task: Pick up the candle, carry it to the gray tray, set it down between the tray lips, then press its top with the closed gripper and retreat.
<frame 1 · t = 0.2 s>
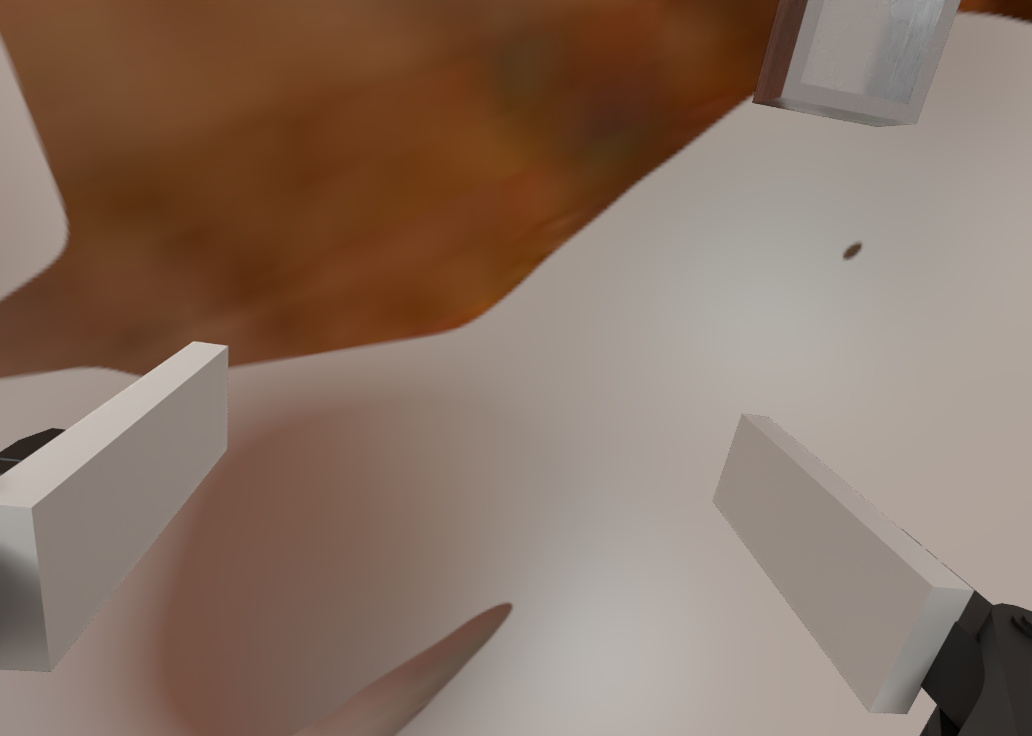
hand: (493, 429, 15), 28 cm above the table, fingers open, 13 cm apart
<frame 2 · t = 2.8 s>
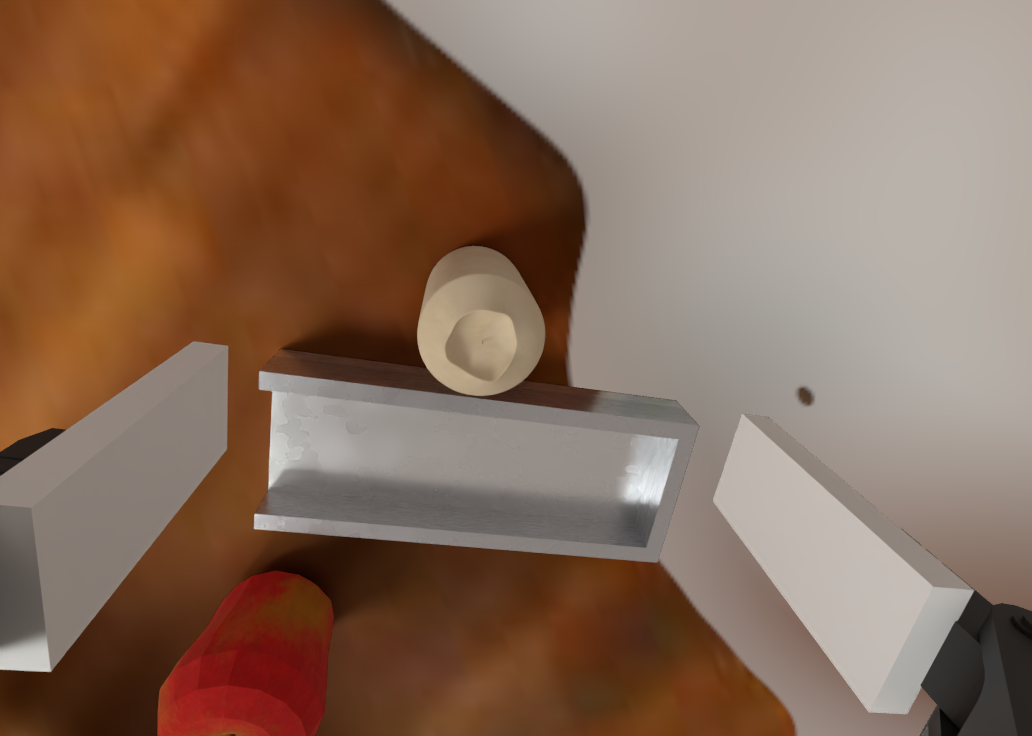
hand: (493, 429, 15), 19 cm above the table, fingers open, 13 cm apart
gray tray: (476, 446, 36), on the table
candle: (474, 292, 33), on the table
apple: (285, 598, 38), on the table
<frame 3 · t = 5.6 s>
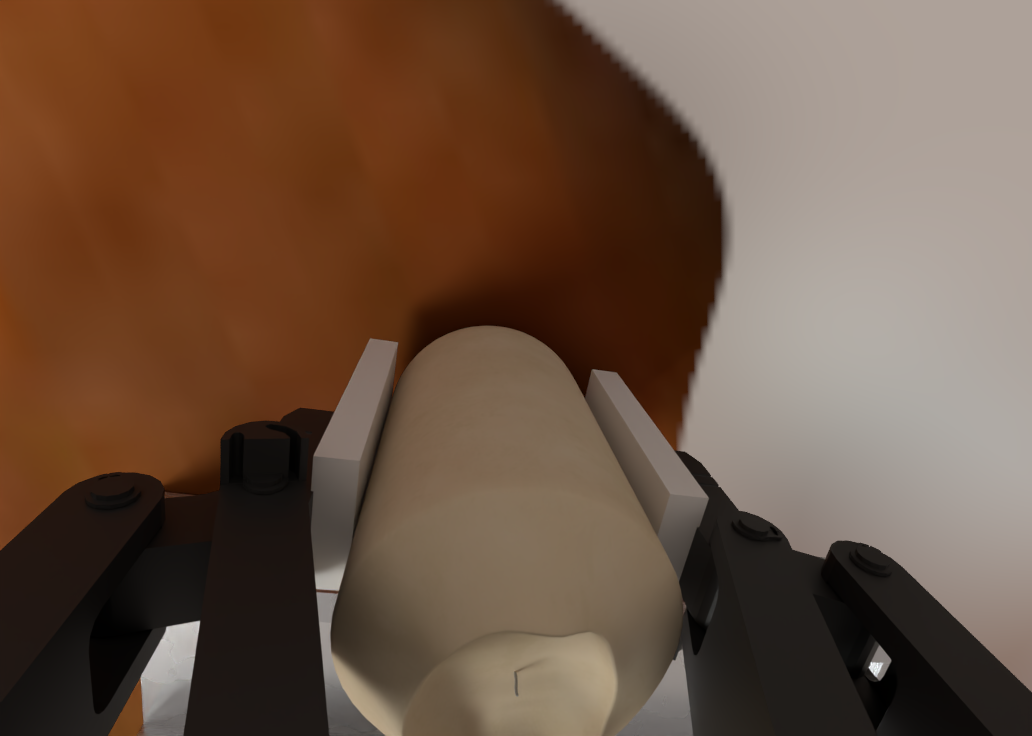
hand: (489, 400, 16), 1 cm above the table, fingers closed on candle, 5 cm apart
gray tray: (507, 636, 21), on the table
candle: (485, 409, 17), point 1 cm above the table, touching gripper
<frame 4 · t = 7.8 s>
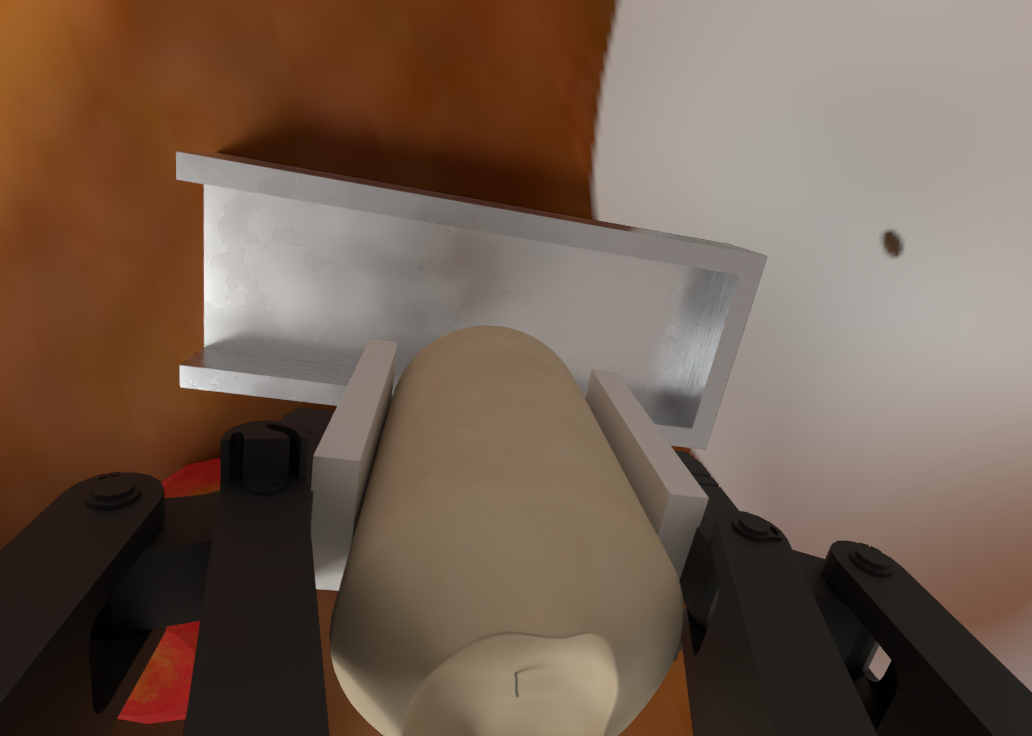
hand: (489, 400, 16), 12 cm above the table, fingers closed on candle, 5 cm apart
gray tray: (474, 300, 28), on the table
candle: (486, 409, 17), point 12 cm above the table, touching gripper
apple: (235, 503, 31), on the table
when the fingers open (2 cm above the table, at t = 9.8 s): candle stays where it is, resting on gray tray.
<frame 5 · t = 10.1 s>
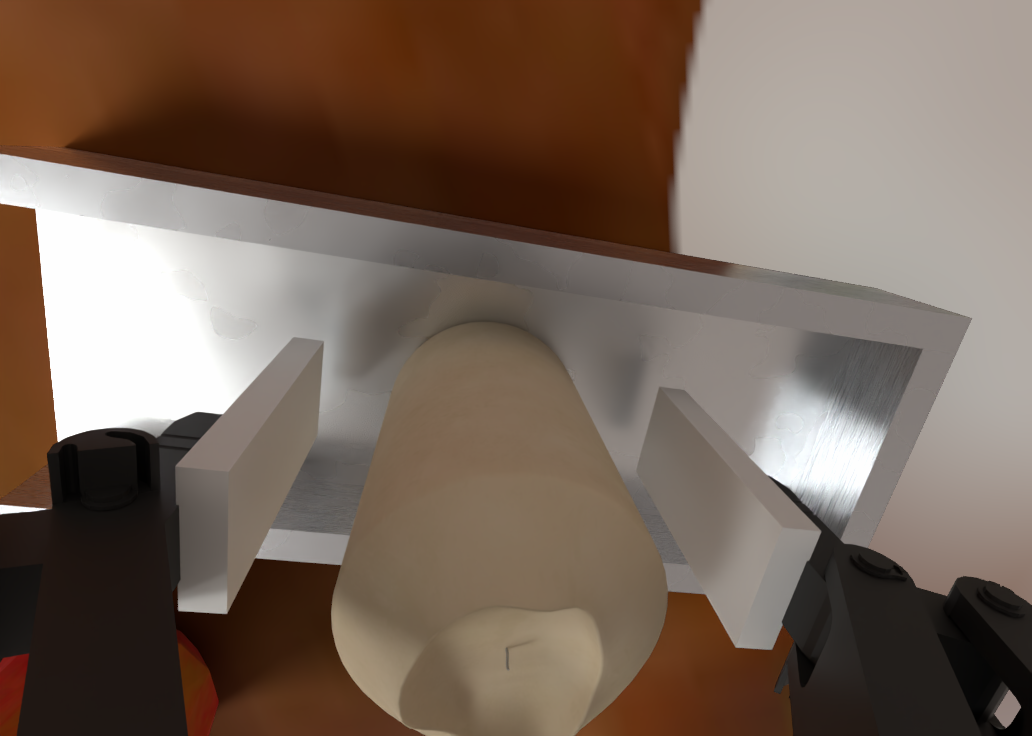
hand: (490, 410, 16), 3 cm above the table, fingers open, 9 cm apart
gray tray: (486, 375, 18), on the table
candle: (483, 403, 17), point 1 cm above the table, touching gray tray
apple: (135, 660, 21), on the table
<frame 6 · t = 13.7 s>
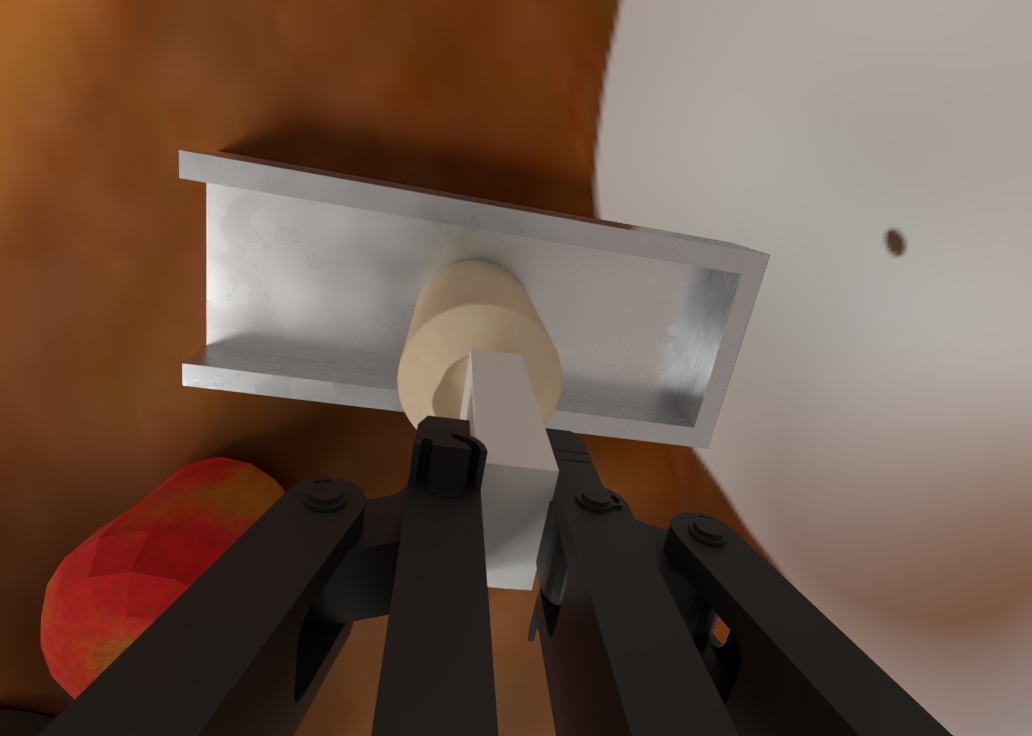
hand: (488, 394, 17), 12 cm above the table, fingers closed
gray tray: (476, 299, 28), on the table
candle: (474, 315, 27), point 1 cm above the table, touching gray tray
apple: (237, 501, 31), on the table
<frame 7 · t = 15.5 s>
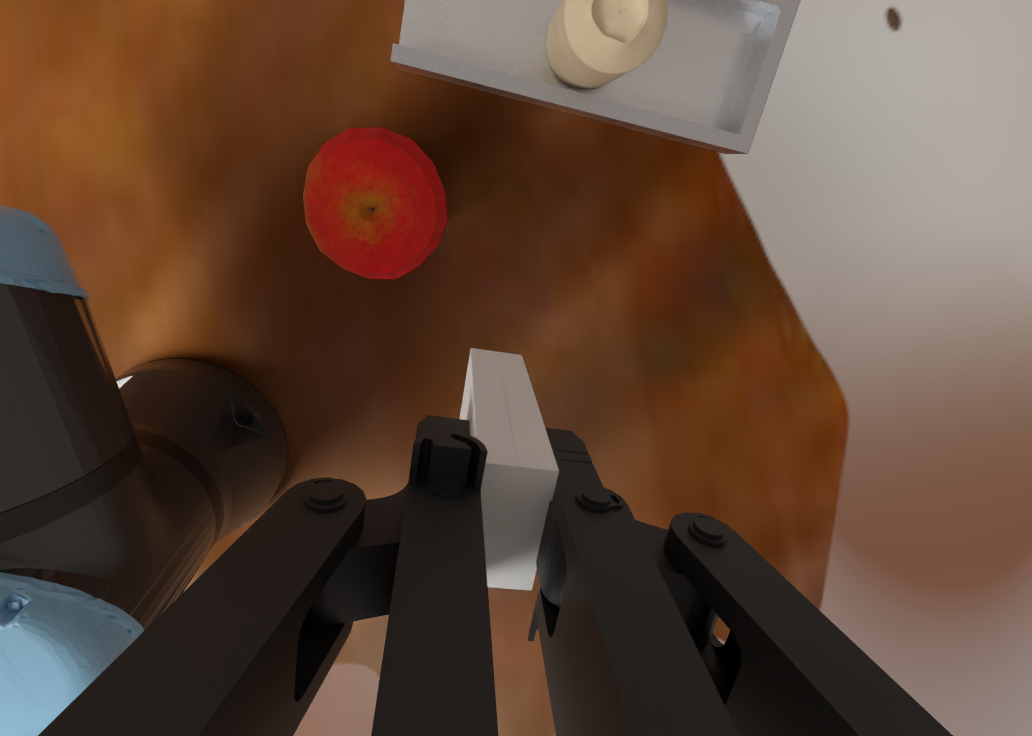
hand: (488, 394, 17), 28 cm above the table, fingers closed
gray tray: (586, 38, 39), on the table
candle: (586, 45, 38), point 1 cm above the table, touching gray tray
apple: (394, 196, 42), on the table
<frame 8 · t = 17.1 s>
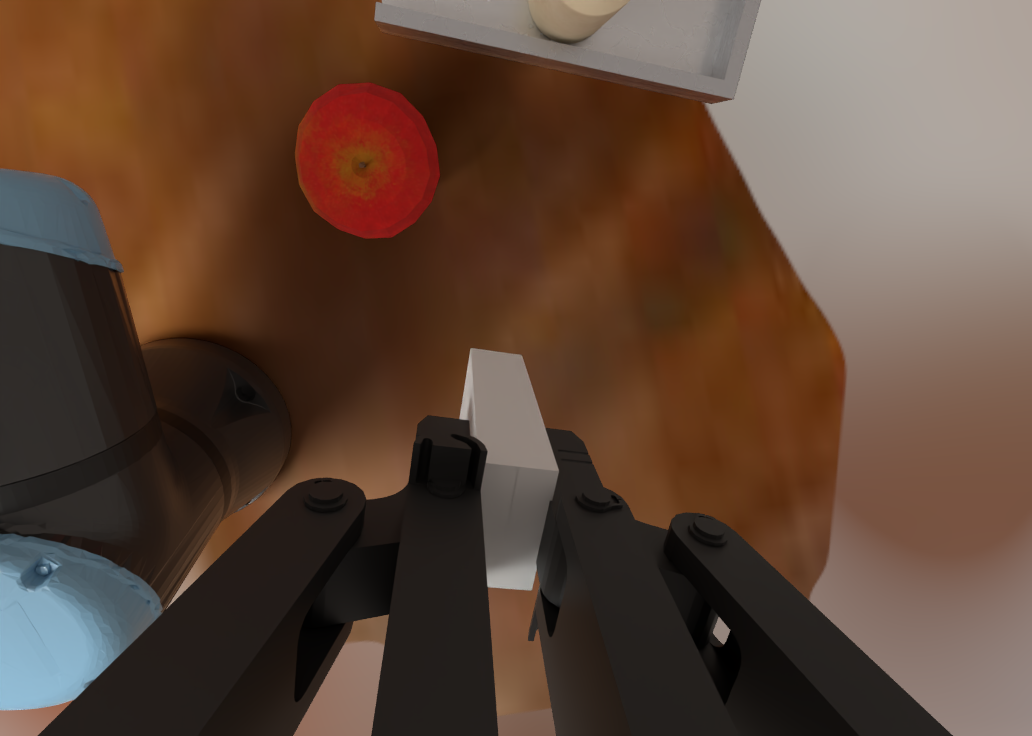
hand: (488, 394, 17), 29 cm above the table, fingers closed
apple: (385, 162, 42), on the table
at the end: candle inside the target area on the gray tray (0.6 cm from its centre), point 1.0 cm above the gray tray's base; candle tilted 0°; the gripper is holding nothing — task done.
